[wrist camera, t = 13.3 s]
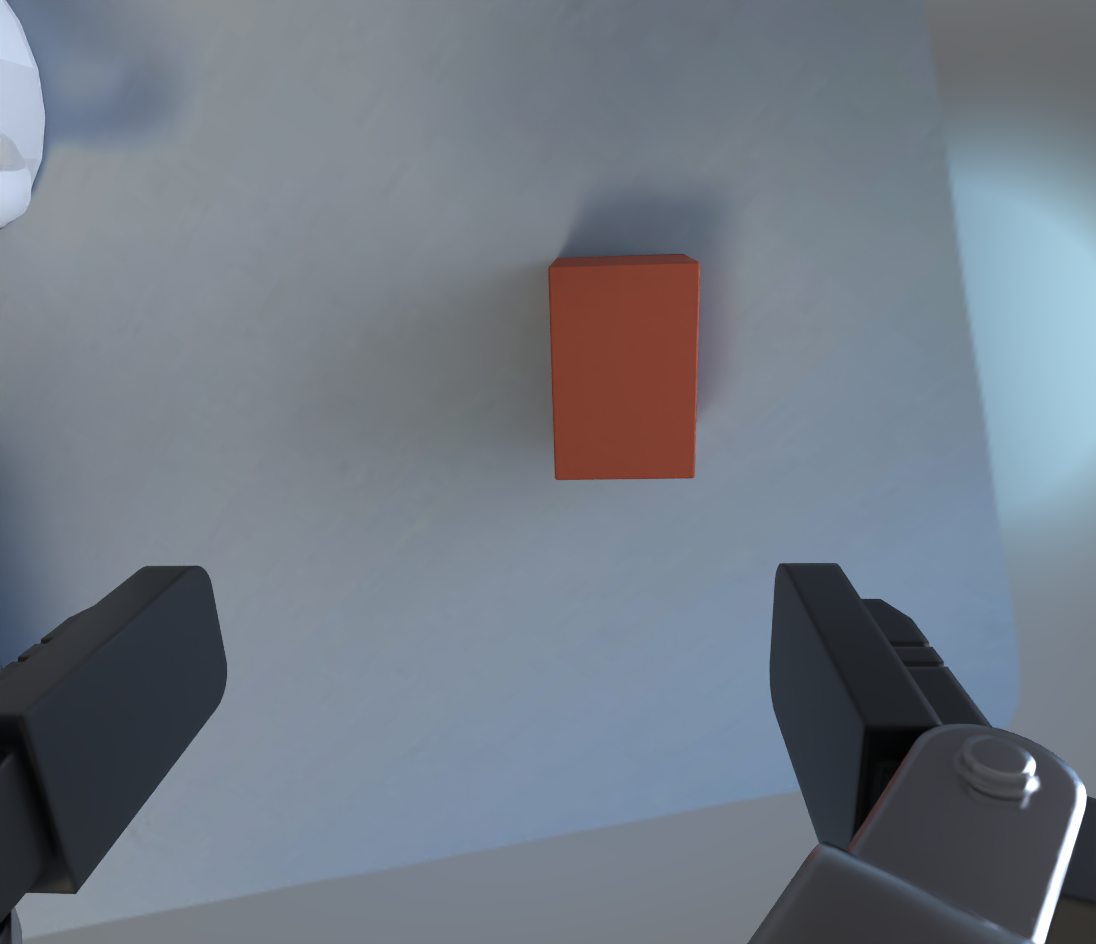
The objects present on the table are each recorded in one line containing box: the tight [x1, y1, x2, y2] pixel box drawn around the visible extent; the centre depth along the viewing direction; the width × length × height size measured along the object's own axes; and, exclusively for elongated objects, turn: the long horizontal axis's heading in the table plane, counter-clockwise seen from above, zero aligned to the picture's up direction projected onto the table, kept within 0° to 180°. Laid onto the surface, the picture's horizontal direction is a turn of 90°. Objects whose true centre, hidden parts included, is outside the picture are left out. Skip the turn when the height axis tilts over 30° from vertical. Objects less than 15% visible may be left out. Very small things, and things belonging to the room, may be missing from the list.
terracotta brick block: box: [548, 254, 700, 480], centre depth 24 cm, size 6×4×4 cm, turn 2°
